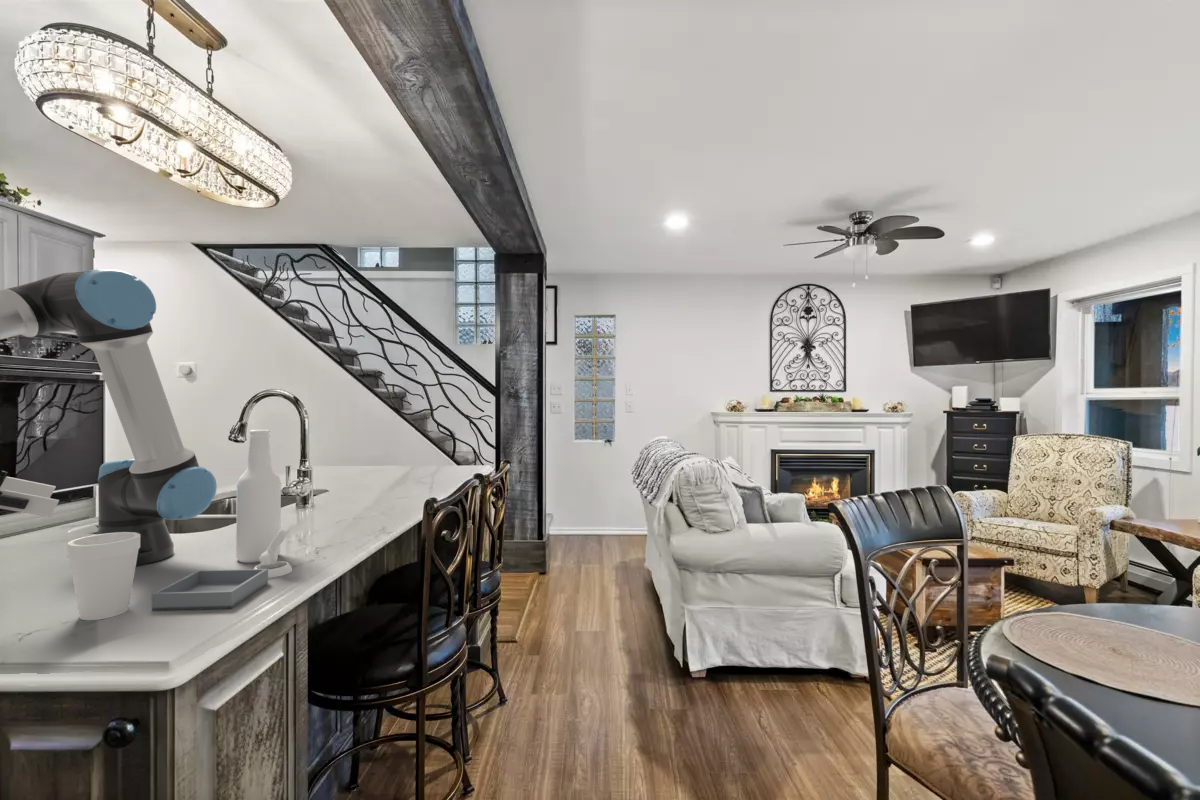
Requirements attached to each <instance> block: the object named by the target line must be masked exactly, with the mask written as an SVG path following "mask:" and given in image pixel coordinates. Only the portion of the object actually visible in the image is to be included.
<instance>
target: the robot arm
mask: <svg viewBox="0 0 1200 800" xmlns="http://www.w3.org/2000/svg"><path fill="white" fill-rule="evenodd" d="M156 311H157V302H156V299H155V295H154V293H153V291H152V290H151V288H149V286H148V285H147V284H146V283H145V282H144V281H143V280H142V279H140V278H138V277H137V276H135V275H133V274H132V273H129V272H126V271H123V270H119V269H109V268H108V269H107V268H95V269H91V270H82V271H76V272H64V273H58V274H55V275H52V276H48V277H44V278H40V279H38V280H35V281H31V282H28V283H25V284H21V285H18V286H13V287H8V288H3V289H0V340H5V339H8V338H11V337H15V336H20V335H21V336H23V337H26V338H34V337H37V336H41V335H44V334H50V333H57V332H60V333H61V332H69V331H71V332H72V331H75V333H76V336H77V339H78V341H79V344H80V345H82V346H84V347H86V348H88V349H90V350H92V352H93V353H94V355H95V358H96V361H97V363H98V366H99V369H100V373H101V374H102V377H103V380H104V382H105V385H106V387H107V389H108V393H109V395H110V397H111V400H112V403H113V406H114V408H115V411H116V414H117V416H118V418H119V421H120V423H121V427H122V428H123V429H122V430H123V433H124V435H125V437H126V440H127V442H128V445H129V448H130V449H131V450H130V451H131V453H132V455H133V458H132V459H124V460H114V461H107V462H104V463H102V464H101V465H100V467H99V468H98V469H99V470H98V477H97V482H98V488H97V489H98V491H97V492H98V494H97V495H98V529H97V532H96V534H95V535H98V534H106V533H117V532H136V533H138V534H140V548H139V549H138V555H137V561H136V566H141V565H146V564H151V563H154V562H159V561H161V560H164V559H168V558H170V557H171V556H173V555H174V553H175V552H174V551H175V550H174V549H175V548H174V542H173V540H172V537H171V535H170V532H169V530H168V527H167V525H166V522H165V521H166V520H167V521H180V520H181V521H182V520H183V521H184V520H191V519H192V518H195V517H198V516H200V515H201V514H202V513H204V512H205V511H206V510H208V508H209V507H210V505H211V504H212V501H213V499H215V496H216V493H217V485H218V484H217V480H216V478H215V476H214V475H213V473H212V472H211V471H210V470H208V469H206V468H205V467H202V466H200V465H199V463H198V459H197V456H196V453H195V451H194V450H191V449H189V448H187V447H184V444H183V442H182V439H181V436H180V433H179V430H178V427H177V425H176V422H175V418H174V416H173V413H172V410H171V407H170V404H169V401H168V399H167V395H166V393H165V390H164V387H163V384H162V382H161V381H162V380H161V379H160V376H159V373H158V370H157V368H156V364H155V361H154V358H153V355H152V353H151V350H150V347H149V344H148V341H149V339H150V338H151V336H152V335H153V334H154V331H153V328H152V324H151V321H152V320H153V318H154V314H156ZM7 474H8V471H5V470H0V510H1V509H2V510H7V511H12V512H13V511H14V512H19V513H23V514H31V515H36V516H42V517H48V518H51V517H52V515H53V513H54V511H56V510H55V509H56V508H57V506H58V505H59V504H58V503H59V502H60V499H56V498H51V497H52V495H53V493H54V491H55V489H56V487H57V486H56V485H51V484H46V483H41V482H36V481H31V480H26V479H21V478H16V477H10V476H7Z"/></svg>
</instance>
